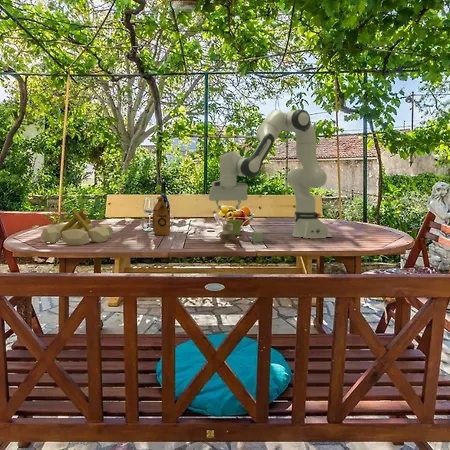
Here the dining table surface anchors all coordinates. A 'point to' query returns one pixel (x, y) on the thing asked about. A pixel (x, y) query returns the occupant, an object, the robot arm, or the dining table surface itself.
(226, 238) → the brown square block
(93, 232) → the campfire
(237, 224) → the plant pot
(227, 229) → the birch cube
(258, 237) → the green cube
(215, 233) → the dining table surface
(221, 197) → the robot arm
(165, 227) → the coffee package
